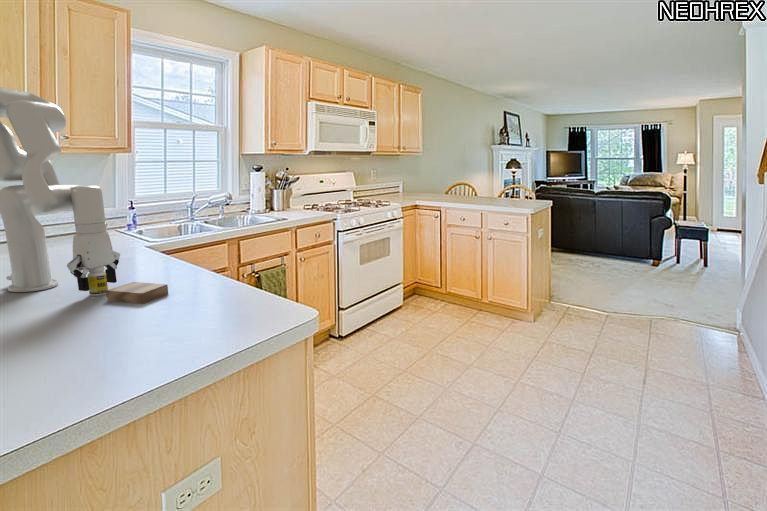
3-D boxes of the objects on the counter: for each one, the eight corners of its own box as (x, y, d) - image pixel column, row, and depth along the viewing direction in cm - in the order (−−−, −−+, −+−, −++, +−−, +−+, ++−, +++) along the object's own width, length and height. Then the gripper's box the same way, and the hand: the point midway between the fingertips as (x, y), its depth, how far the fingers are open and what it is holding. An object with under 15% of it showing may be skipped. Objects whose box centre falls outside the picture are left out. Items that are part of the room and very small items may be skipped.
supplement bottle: (99, 296, 134) (96, 268, 132) (85, 295, 135) (82, 267, 133) (112, 292, 138) (109, 265, 137) (98, 291, 139) (95, 264, 138)
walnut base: (107, 300, 130) (106, 290, 129) (134, 291, 139) (133, 281, 139) (143, 303, 127) (142, 293, 126) (168, 294, 136) (167, 284, 136)
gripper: (105, 224, 142) (111, 278, 145) (52, 232, 125) (61, 293, 129) (125, 225, 140) (131, 280, 143) (75, 233, 124) (83, 295, 127)
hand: (98, 286), depth 136 cm, fingers open, 9 cm apart
